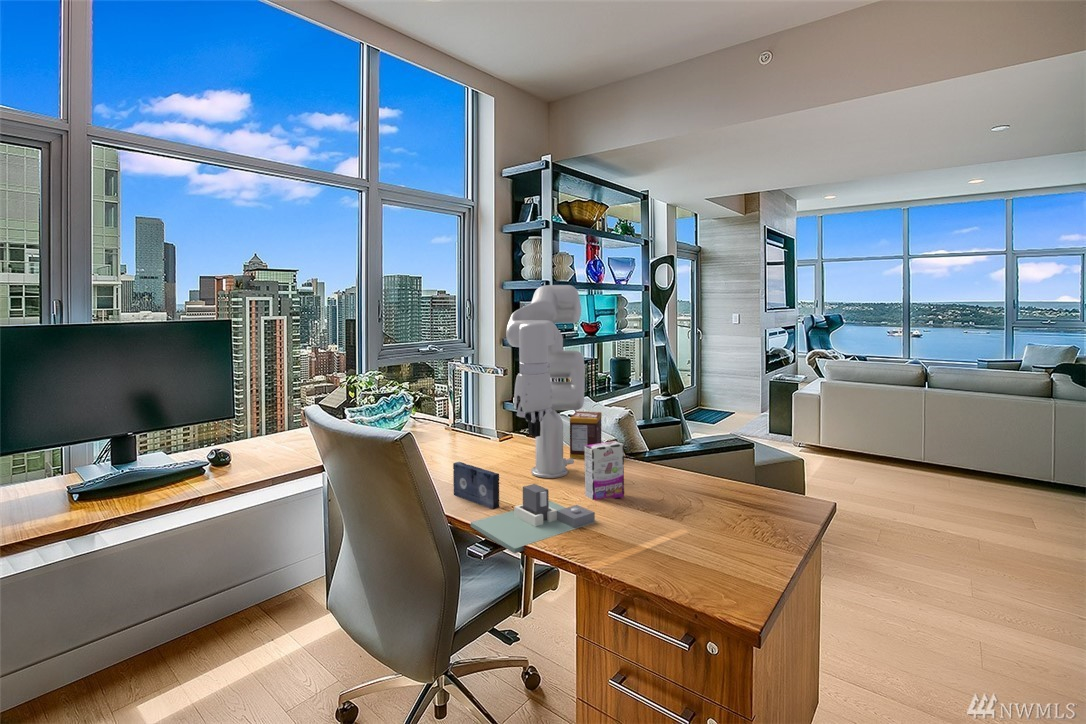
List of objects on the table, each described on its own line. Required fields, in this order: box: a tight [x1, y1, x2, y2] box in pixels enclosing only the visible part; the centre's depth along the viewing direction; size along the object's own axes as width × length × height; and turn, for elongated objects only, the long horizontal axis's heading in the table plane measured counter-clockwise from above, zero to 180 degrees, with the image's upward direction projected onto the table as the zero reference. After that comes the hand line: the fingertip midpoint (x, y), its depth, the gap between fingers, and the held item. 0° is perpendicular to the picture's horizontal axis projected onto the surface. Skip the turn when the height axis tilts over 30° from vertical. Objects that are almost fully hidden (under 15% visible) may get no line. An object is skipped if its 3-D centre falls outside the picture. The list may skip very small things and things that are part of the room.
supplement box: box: [569, 410, 602, 460], centre depth 210 cm, size 10×15×16 cm
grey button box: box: [557, 504, 596, 528], centre depth 140 cm, size 7×7×3 cm
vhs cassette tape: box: [452, 461, 500, 510], centre depth 159 cm, size 18×3×10 cm, turn 45°
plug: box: [522, 483, 550, 521], centre depth 142 cm, size 4×7×8 cm, turn 37°
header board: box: [470, 500, 598, 554], centre depth 140 cm, size 26×20×4 cm
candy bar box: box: [584, 440, 625, 501], centre depth 160 cm, size 11×5×16 cm, turn 117°
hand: (534, 435), depth 147 cm, fingers closed
